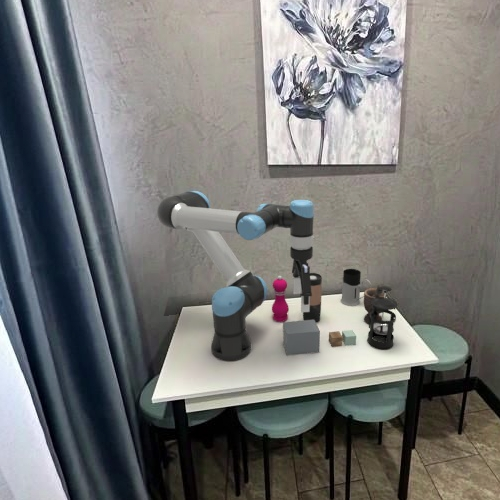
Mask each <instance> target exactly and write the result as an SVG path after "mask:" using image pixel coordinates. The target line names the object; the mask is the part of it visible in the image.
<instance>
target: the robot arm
mask: <svg viewBox="0 0 500 500" xmlns="http://www.w3.org/2000/svg"><path fill="white" fill-rule="evenodd" d="M210 205H211V204H210V200H209V199H208V197H207V196H206V195H205V194H204V193H202V192H201V191H197V190H189V191H185V192H183V193H179V194H175V195H172V196H167V197H166V198H164V199H162V200H161V201H160V203H159V204H158V206H157V209H156V211H157V212H156V214H157V219H158V221H160V223H161V225H163V226H164V227H165V228H168V229H173V230H184V229H186V230H187V232H192V233H193V234H194V236H195V237H196V240H198V241H199V244H200V245H201V246H202V248H203V249H204V250H205V252H206V255H208V257H209V258H210V260H211V261H212V262H213V264H214V266H215V267H216V268H217V270H218V271H219V273H220V274H221V276H222V277H223V278H224V280H225V282H226V285H225V287H222V288H220V289H218V290H217V291H215V292H214V294H213V295H212V298H211V310H212V317H213V320H212V321H213V329H214V330H213V331H214V333H213V337H212V339H211V343H210V346H211V348H210V350H211V353H212V355H213V357H215V358H216V359H218V360H220V361H225V362H235V361H239V360H242V359H244V358H246V357H247V356H248V355H250V353H251V351H252V341H251V340H252V339H251V338H250V336H249V334H248V331H247V328H246V318H247V317H248V316H249V315H250V314H251V313H252V312H254V311H255V310H256V309H258V308H259V307H260V306H261V305H263V303H264V302H265V300H266V299H267V296H268V292H269V291H268V287H267V286H268V285H267V283H266V282H265V281H264V279H263V278H262V277H261V276H258V275H257V274H256V275H255V274H253V273H252V272H251V270H249V269H246V268H244V267H243V265H242V263H241V262H240V261H239V259H238V258H237V256H236V255H235V254H234V252H233V250H232V249H231V247H230V246H229V244H228V243H227V242H226V240H225V239H224V238H223V236H222V234H221V233H225V234H231V235H232V234H234V235H238V236H240V237H241V238H242V239H244V240H246V241H254V240H255V239H259V238H260V237H262V236H264V235H265V234H267V233H269V232H270V231H272V230H274V229H275V228H282V229H289V232H290V235H289V238H290V239H289V244H290V249H289V251H290V253H289V254H290V255H289V256H290V258H291V259H293V262H292V269H291V270H292V271H291V273H292V277H293V278H292V280H293V281H292V282H293V284H292V286H293V287H292V290H293V291H292V293H293V295H299V296H300V297H301V298H300V299H301V301H300V303H301V304H300V306H301V307H300V311H301V313H303V312H309V311H310V296H312V292H311V282H310V273H311V272H310V269H311V267H310V266H309V263H308V262H307V261H309V260H311V259H312V258H313V255H314V254H313V253H314V248H313V244H314V243H313V241H314V239H315V236H314V217H315V214H314V203H313V202H312V201H310V200H307V199H295V200H292V201H291V202H290V205H285V204H284V205H283V204H275V203H262V204H260V205H259V206H258V207H257V210H256V211H255V212H252V211H251V212H250V211H249V212H248V211H239V210H230V209H229V210H228V209H219V208H211V207H210Z"/></svg>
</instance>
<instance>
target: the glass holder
mask: <svg viewBox="0 0 500 500" xmlns="http://www.w3.org/2000/svg"><path fill="white" fill-rule="evenodd" d="M342 274H343V275H342V276H343V277H342V285H341V286H342V287H341V289H342V290H341V299H340V303H341V304H342V305H344V306H347V307H358V306H359V305H360V304H361V301H360V300H361V299H364V295H363V296H361V295H360V294H361V287H363V286H364V285H363V284H364V281H367V283H369V288H368V289H371V288H372V283H371V281H370V280H369V279H367V278H366V279H365V278H364V279H363V280H361V275H362V273H361V271H360V270H358V269H355V268H346V269H344V270H343V273H342ZM360 296H361V297H360Z"/></svg>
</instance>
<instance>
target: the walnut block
mask: <svg viewBox="0 0 500 500" xmlns="http://www.w3.org/2000/svg"><path fill="white" fill-rule="evenodd" d="M328 343H329V344H330V346H331V348H336V347H343V337H342V332H340V331H329V332H328Z"/></svg>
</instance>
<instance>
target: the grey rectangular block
mask: <svg viewBox="0 0 500 500" xmlns="http://www.w3.org/2000/svg"><path fill="white" fill-rule="evenodd" d="M320 340H321V330H320V328H319V327H318V325H317V323H316V322H315V320H293V321H283V322H282V343H283V347H284V349H285V353H286V356H294V355H295V356H296V355H302V354H303V355H305V354H314V353H315V354H317V353H320V345H321V341H320Z"/></svg>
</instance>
